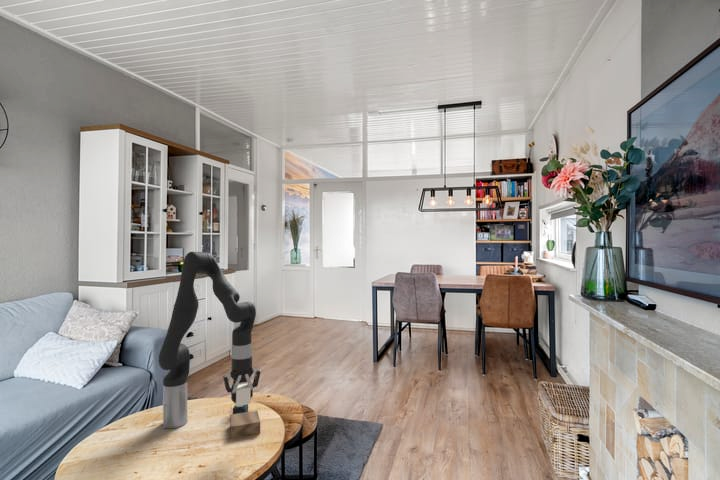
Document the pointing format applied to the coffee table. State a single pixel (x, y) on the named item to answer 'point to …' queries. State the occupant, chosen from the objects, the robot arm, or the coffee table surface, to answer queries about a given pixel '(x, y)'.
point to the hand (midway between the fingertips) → (242, 400)
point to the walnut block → (244, 424)
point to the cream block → (243, 395)
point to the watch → (240, 409)
